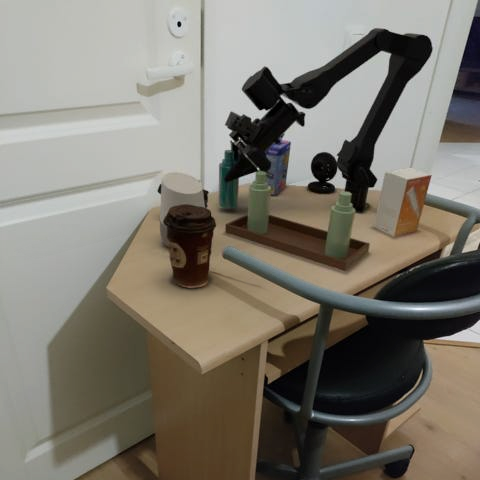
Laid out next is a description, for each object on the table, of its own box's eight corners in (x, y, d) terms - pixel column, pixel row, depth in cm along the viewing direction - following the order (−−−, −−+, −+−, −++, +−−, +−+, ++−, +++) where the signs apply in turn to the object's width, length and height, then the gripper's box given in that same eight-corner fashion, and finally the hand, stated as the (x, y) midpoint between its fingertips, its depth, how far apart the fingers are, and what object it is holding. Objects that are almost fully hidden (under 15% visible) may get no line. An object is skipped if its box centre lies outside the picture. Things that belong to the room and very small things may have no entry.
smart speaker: (189, 259, 93) (188, 188, 86) (151, 248, 97) (146, 178, 89) (215, 242, 101) (216, 175, 93) (178, 232, 104) (176, 167, 96)
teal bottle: (225, 200, 117) (225, 147, 110) (241, 204, 116) (243, 150, 109) (214, 205, 114) (215, 151, 107) (231, 209, 112) (233, 154, 105)
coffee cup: (173, 295, 82) (170, 222, 75) (160, 273, 88) (156, 204, 81) (221, 286, 85) (222, 216, 78) (205, 266, 91) (205, 199, 84)
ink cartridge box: (276, 196, 127) (281, 138, 119) (256, 192, 128) (259, 136, 121) (287, 185, 135) (292, 131, 127) (268, 182, 136) (272, 128, 128)
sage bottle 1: (253, 224, 109) (256, 168, 102) (271, 228, 107) (276, 172, 100) (243, 230, 105) (245, 173, 98) (261, 235, 103) (265, 177, 97)
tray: (254, 219, 112) (254, 210, 111) (367, 253, 99) (370, 243, 98) (225, 234, 105) (225, 224, 103) (344, 273, 91) (346, 262, 90)
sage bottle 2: (329, 247, 100) (338, 187, 93) (350, 252, 98) (361, 192, 91) (320, 255, 96) (329, 194, 89) (342, 261, 94) (353, 199, 88)
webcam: (301, 189, 133) (305, 151, 127) (316, 183, 138) (320, 147, 132) (325, 196, 129) (331, 157, 123) (340, 189, 133) (345, 152, 128)
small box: (394, 238, 106) (407, 179, 99) (372, 228, 111) (384, 171, 104) (418, 231, 110) (432, 174, 103) (396, 222, 115) (409, 166, 108)
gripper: (238, 91, 110) (191, 142, 114) (259, 106, 95) (204, 164, 99) (269, 127, 116) (224, 174, 120) (293, 146, 101) (240, 200, 105)
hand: (222, 177), depth 111 cm, fingers closed on teal bottle, 4 cm apart
